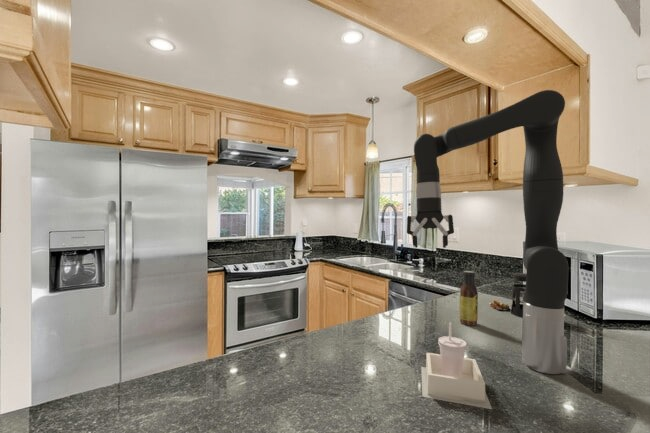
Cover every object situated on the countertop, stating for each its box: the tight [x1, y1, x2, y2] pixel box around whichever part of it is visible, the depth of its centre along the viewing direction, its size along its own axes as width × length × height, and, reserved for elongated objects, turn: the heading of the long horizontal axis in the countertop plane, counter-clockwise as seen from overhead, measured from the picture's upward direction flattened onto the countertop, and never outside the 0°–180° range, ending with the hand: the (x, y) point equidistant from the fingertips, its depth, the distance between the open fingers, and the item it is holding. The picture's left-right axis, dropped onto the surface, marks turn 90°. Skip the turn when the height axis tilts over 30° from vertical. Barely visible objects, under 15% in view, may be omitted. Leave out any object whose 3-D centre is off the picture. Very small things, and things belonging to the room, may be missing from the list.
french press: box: [510, 259, 526, 318], centre depth 128 cm, size 12×9×23 cm
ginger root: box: [489, 299, 511, 312], centre depth 139 cm, size 7×12×4 cm, turn 4°
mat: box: [420, 366, 493, 410], centre depth 73 cm, size 14×14×1 cm
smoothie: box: [437, 322, 468, 378], centre depth 73 cm, size 6×6×14 cm
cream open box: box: [425, 352, 486, 405], centre depth 73 cm, size 12×12×4 cm
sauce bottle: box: [459, 270, 479, 327], centre depth 117 cm, size 7×6×20 cm
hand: (430, 247), depth 98 cm, fingers open, 8 cm apart
